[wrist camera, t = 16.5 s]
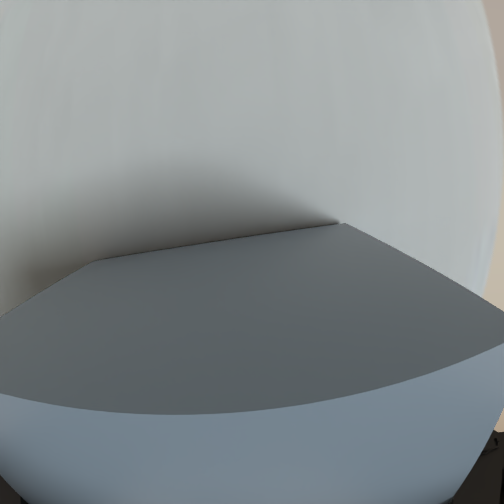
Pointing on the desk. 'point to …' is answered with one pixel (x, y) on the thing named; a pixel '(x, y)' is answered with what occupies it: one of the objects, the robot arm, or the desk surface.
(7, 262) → the desk surface
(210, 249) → the grey-blue box
